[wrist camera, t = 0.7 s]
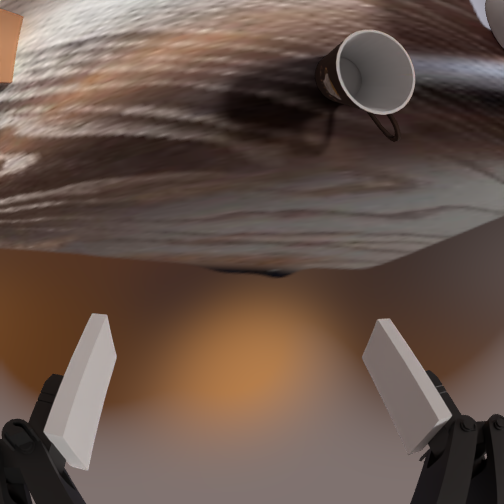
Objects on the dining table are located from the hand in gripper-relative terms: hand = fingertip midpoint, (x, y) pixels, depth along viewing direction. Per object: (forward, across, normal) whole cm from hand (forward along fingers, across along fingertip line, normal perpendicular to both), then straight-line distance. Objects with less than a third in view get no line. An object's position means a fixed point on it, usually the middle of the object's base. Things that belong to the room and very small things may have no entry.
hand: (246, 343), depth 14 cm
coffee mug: (+26, +12, +14) cm, 32 cm away
